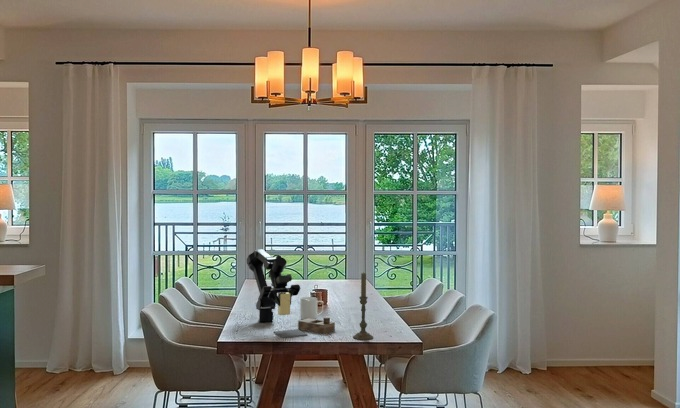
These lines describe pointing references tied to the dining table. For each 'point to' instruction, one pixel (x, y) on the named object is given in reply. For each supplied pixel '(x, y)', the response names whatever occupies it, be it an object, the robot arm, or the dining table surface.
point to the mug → (309, 308)
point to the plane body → (317, 325)
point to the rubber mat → (290, 333)
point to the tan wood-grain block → (284, 304)
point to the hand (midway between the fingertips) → (285, 305)
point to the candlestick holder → (363, 312)
